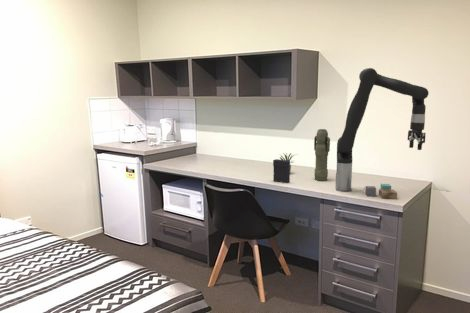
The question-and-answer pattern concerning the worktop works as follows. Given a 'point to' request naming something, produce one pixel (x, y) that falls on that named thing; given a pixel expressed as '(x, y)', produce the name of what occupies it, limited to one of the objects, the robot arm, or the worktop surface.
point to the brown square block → (387, 193)
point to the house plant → (288, 158)
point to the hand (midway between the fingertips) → (415, 148)
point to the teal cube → (385, 186)
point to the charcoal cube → (370, 191)
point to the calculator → (281, 170)
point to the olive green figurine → (321, 154)
